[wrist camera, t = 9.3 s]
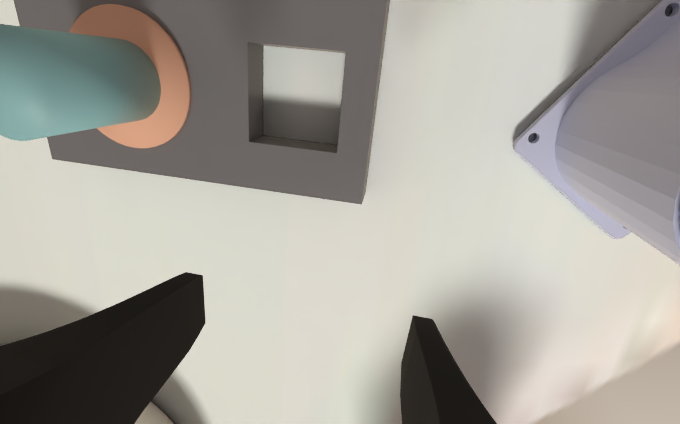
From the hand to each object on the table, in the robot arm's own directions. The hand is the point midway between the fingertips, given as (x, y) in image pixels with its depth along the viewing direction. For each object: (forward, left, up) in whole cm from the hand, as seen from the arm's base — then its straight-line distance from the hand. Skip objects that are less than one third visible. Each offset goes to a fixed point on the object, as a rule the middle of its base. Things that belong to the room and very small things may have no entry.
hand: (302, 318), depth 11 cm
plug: (+1, -13, -8) cm, 16 cm away
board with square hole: (-1, -11, -10) cm, 15 cm away
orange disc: (+1, -13, -8) cm, 16 cm away
